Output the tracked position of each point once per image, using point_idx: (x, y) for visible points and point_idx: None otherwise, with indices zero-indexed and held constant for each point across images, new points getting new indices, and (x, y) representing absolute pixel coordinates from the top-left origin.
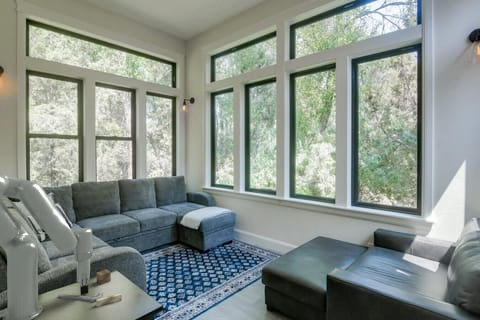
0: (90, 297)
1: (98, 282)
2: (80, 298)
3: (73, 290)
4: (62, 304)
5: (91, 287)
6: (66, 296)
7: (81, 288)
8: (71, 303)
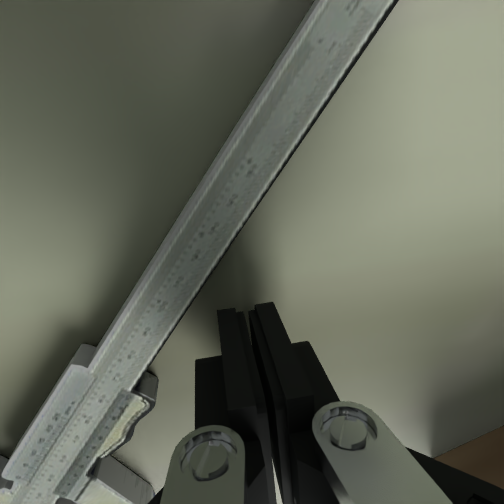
0: (51, 454)
1: (498, 442)
2: (120, 314)
3: (496, 161)
4: (43, 40)
5: (430, 378)
6: (268, 81)
7: (224, 395)
8: (30, 195)
